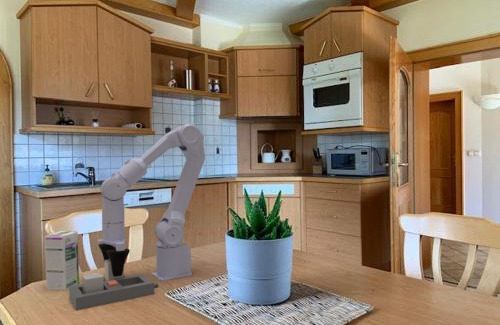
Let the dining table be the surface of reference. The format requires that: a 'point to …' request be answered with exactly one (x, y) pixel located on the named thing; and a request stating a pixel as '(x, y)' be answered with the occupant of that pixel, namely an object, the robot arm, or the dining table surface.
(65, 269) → the syrup box
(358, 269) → the dining table surface
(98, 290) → the strip
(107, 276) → the plug
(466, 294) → the dining table surface
